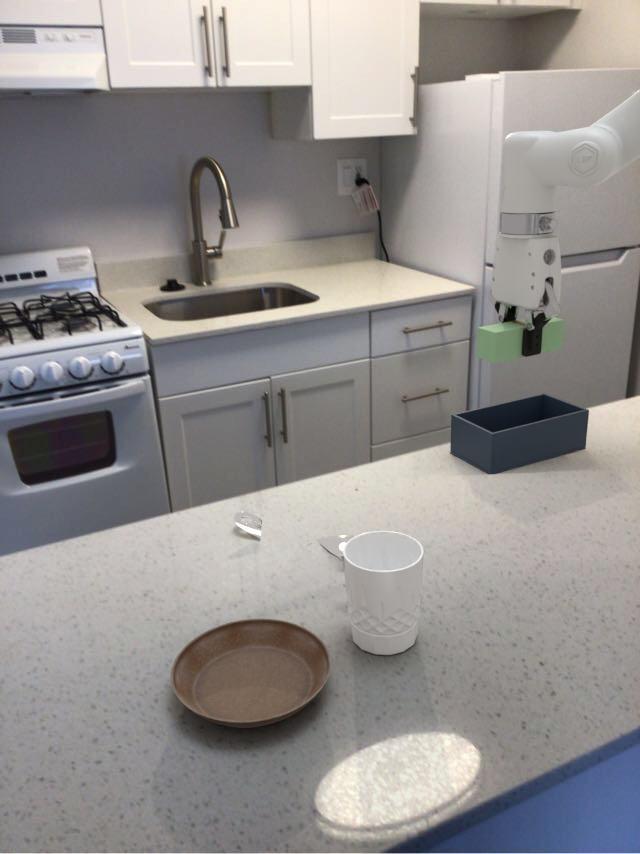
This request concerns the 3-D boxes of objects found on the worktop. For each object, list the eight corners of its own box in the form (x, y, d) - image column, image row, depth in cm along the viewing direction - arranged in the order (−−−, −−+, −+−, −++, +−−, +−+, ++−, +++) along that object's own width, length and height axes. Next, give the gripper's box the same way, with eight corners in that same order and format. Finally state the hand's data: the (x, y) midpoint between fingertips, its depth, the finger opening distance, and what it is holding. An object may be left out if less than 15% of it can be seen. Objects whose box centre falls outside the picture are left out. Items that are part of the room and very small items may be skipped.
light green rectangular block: (562, 349, 114) (564, 319, 112) (494, 363, 108) (495, 332, 107) (543, 343, 117) (545, 314, 115) (476, 357, 112) (477, 326, 110)
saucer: (265, 620, 81) (263, 599, 80) (365, 686, 70) (364, 663, 69) (143, 688, 71) (139, 664, 70) (237, 775, 61) (234, 749, 60)
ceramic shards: (223, 507, 97) (246, 493, 101) (224, 531, 99) (247, 516, 102) (357, 555, 87) (377, 537, 91) (356, 581, 89) (376, 562, 92)
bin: (541, 429, 129) (544, 392, 126) (585, 448, 120) (589, 409, 118) (450, 453, 121) (451, 414, 118) (490, 475, 112) (492, 434, 110)
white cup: (331, 643, 77) (327, 557, 73) (370, 604, 83) (368, 523, 79) (400, 669, 72) (399, 580, 69) (435, 626, 78) (437, 542, 75)
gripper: (592, 227, 101) (580, 360, 107) (507, 218, 115) (502, 336, 121) (549, 232, 97) (540, 368, 104) (468, 223, 111) (464, 343, 118)
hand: (520, 350), depth 113 cm, fingers closed on light green rectangular block, 4 cm apart
